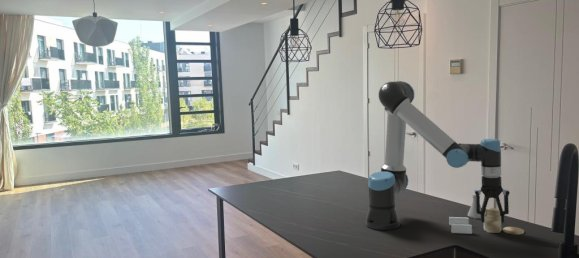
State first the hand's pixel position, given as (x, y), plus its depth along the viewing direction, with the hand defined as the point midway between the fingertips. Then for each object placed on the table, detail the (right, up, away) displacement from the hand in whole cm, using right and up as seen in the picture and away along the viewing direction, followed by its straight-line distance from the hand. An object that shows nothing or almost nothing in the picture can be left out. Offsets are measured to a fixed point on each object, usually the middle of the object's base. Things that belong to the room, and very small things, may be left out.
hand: (492, 229), depth 185 cm
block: (0, 0, 0) cm, 0 cm away
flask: (+1, +1, +19) cm, 19 cm away
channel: (-12, 0, +4) cm, 13 cm away
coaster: (+8, 0, -2) cm, 8 cm away
